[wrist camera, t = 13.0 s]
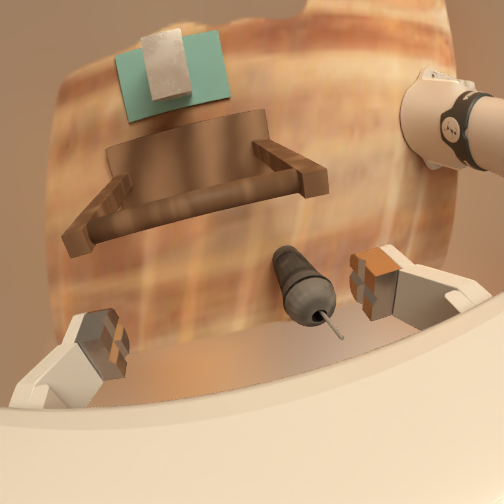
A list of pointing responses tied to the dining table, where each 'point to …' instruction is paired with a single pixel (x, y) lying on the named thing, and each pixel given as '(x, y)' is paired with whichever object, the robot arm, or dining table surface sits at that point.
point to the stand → (192, 177)
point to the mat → (200, 72)
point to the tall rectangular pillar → (166, 65)
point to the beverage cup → (304, 289)
